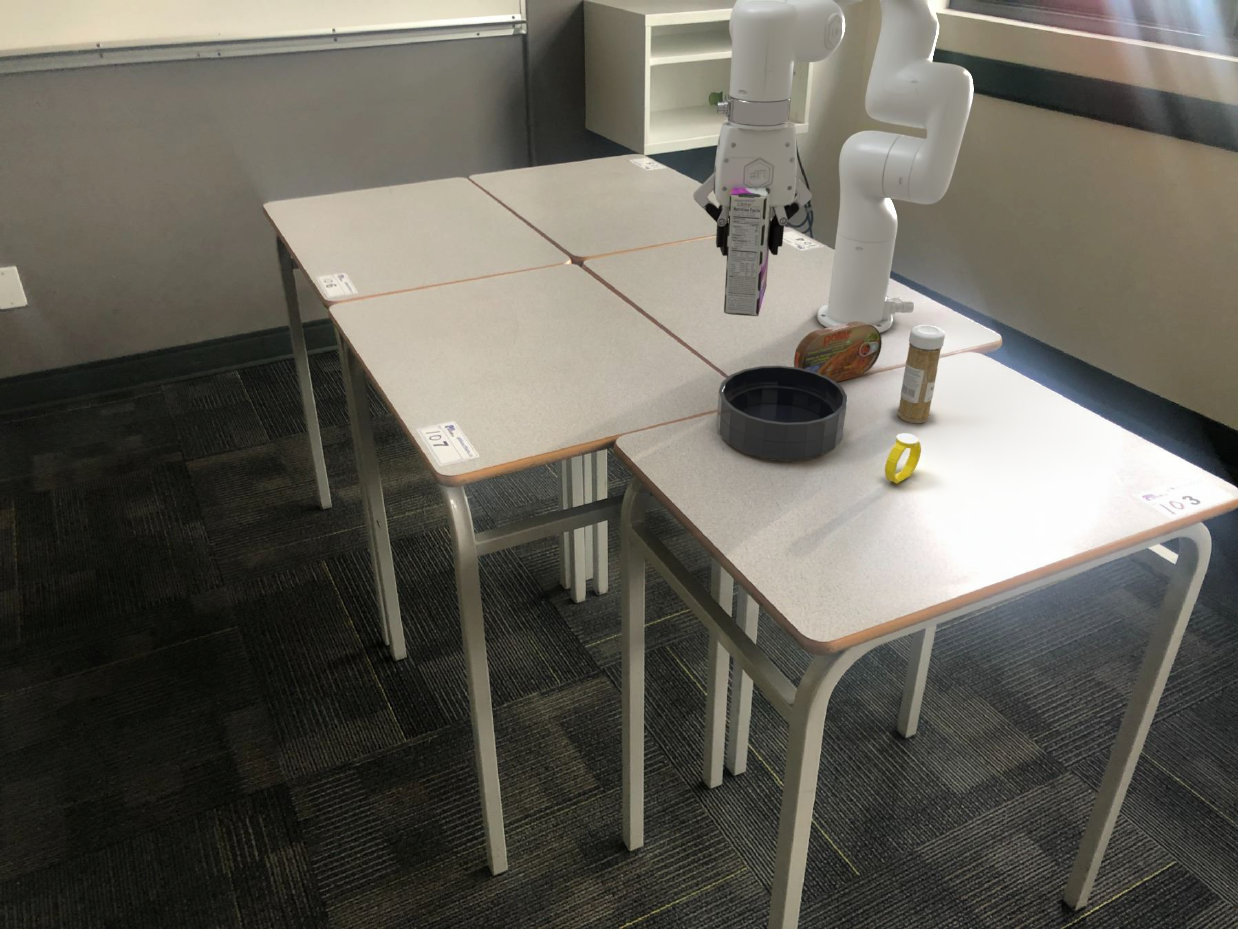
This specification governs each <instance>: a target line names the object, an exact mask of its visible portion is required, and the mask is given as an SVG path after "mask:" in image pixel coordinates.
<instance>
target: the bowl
mask: <svg viewBox="0 0 1238 929" xmlns="http://www.w3.org/2000/svg"><path fill="white" fill-rule="evenodd" d="M717 396H718V397H717V410H716V411H717V413H716V428H717V431H718V434H719V436H720V437H721V438H722V439H723V440H724V441H725V442H726V443H727V444H728V445H729V446H731V447H733V448H735V449H737V450H739V451H740V452H742V453H745V454H747V455H749V456H753V457H757V458H761V459H764V460H771V461H781V462H796V461H803V460H804V461H805V460H808V459H813V458H816V457H817V458H818V457H822V456H823V455H825V454H827V453H829V452H832V451H833V450H835V449H836V447H837V446H838V445H839V444H840V443H841V442H842V440H843V435H844V434H843V433H844V426H845V420H846V414H847V413H846V412H847V407H848V395H847V393H846V391H845V389H844V388H843V387H842V386H841V385H840V384H839V383H838V382H835V381H834V380H832V379H830V378H828V377H826V376H824V375H821V374H819V373H817V372H813V371H809V370H805V369H802V368H797V367H794V366H787V365H760V366H754V367H750V368H749V367H748V368H744V369H741V370H739V371H736V372H733V373H732V374H729V375H728V376H727V377H726V378H725V379H724V380H722V381H721V383H720V386H719V389H718V395H717Z"/></svg>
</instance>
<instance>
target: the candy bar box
mask: <svg viewBox="0 0 1238 929" xmlns="http://www.w3.org/2000/svg"><path fill="white" fill-rule="evenodd" d="M769 199H770V189H769V188H737V189H732V190H731V193H730V203H729V218H728V243H727V256H726V267H725V283H724V284H725V285H724V303H723V313H724V314H726V315H732V316H746V317H747V316H748V317H759V315H760V312H761V307H762V304H763V300H764V296H765V292H766V290H767V282H768V280H767V279H768V269H769V255H770V254H769V253H770V250H769V248H768V242H769V231H770V221H771V220H772V218H773V208H772V207H769Z"/></svg>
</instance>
